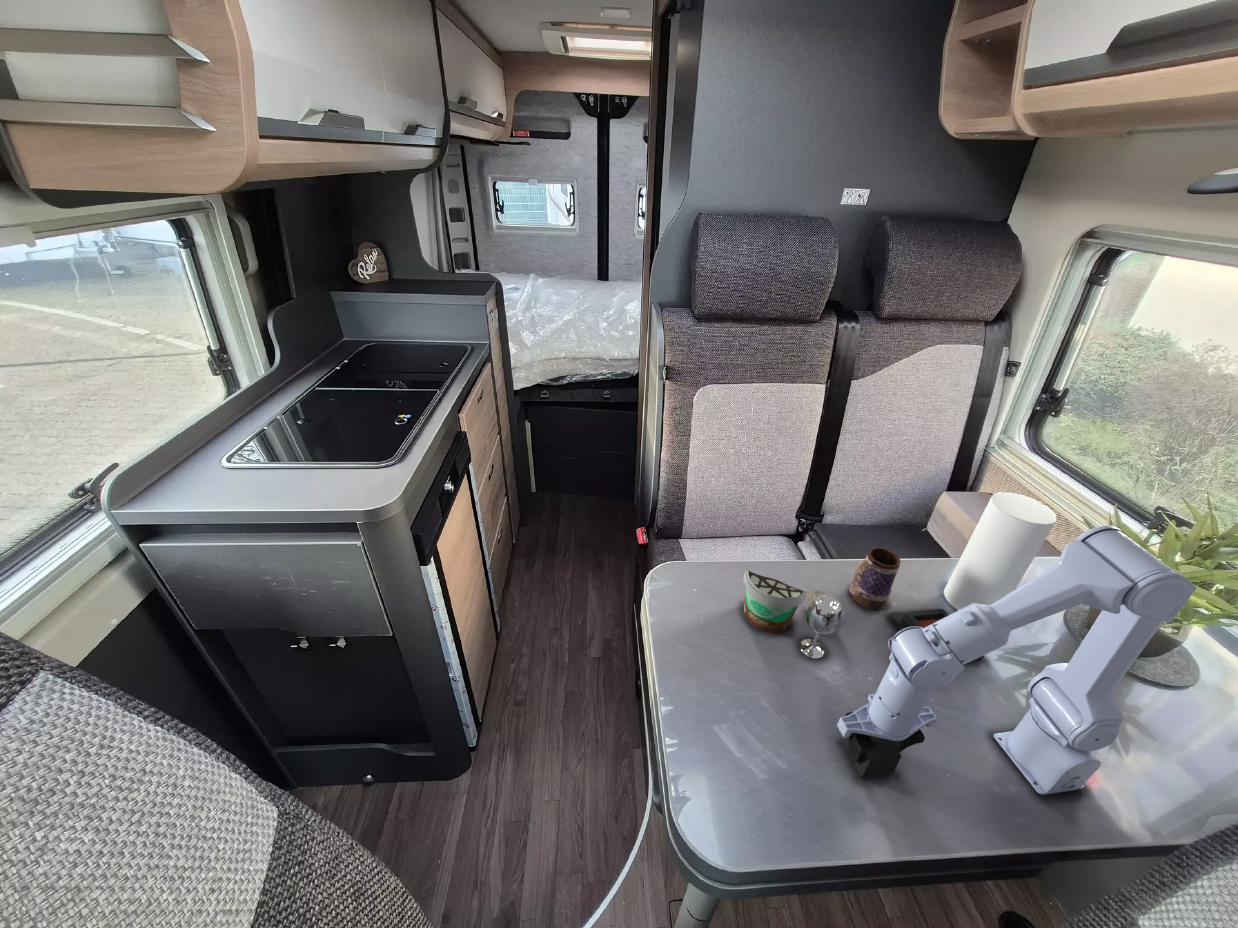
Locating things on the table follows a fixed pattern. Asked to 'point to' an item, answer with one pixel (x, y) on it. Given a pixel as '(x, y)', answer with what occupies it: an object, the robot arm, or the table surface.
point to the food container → (770, 602)
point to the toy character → (813, 595)
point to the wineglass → (821, 623)
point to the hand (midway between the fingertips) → (870, 753)
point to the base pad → (919, 619)
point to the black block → (878, 758)
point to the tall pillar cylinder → (999, 550)
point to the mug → (875, 578)
